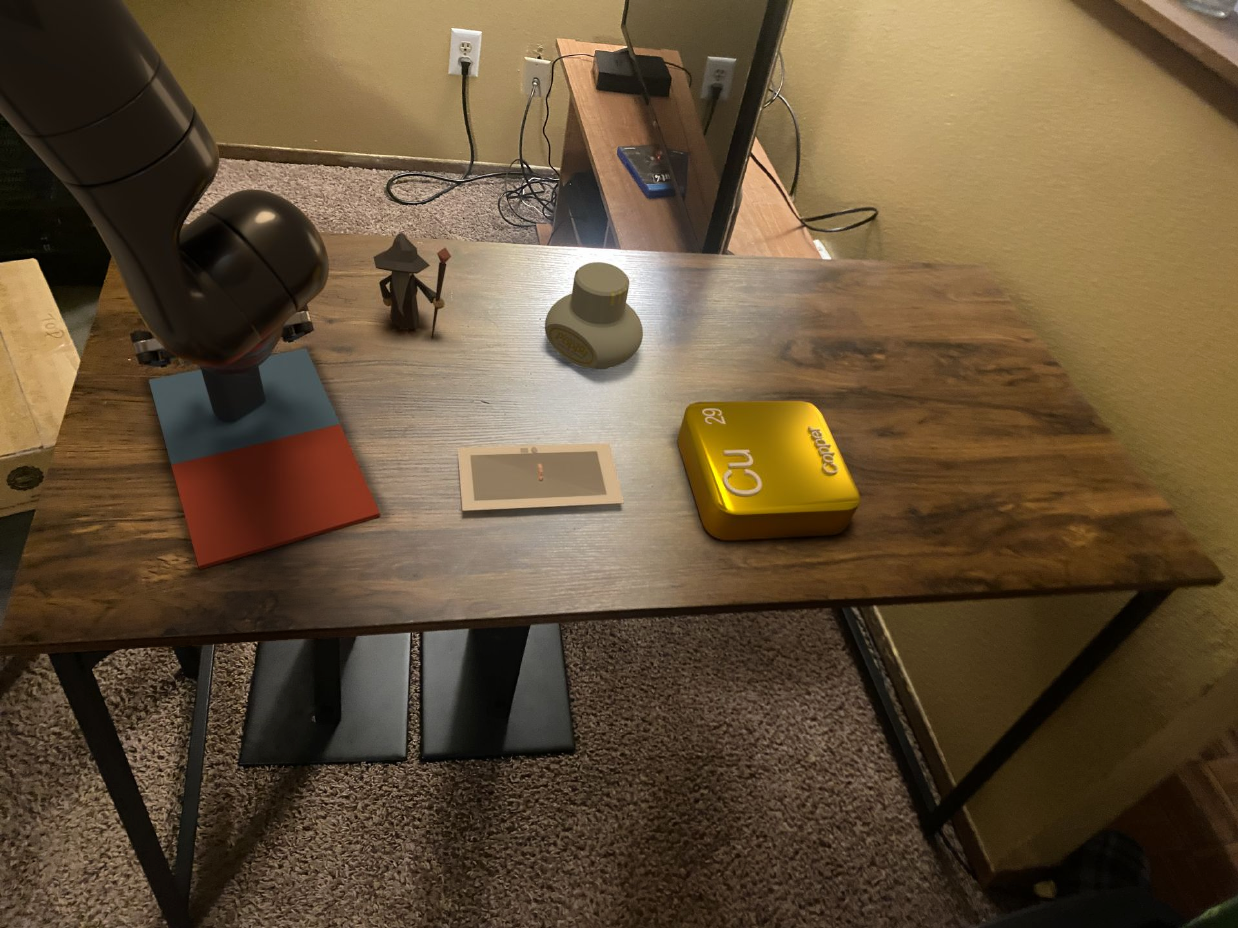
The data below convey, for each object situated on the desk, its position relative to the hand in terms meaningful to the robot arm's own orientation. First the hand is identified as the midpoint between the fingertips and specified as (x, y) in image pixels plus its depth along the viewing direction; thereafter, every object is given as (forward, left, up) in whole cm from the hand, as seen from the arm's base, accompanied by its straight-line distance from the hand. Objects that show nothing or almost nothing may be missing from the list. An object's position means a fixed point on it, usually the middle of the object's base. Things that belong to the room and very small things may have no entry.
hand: (223, 345), depth 77 cm
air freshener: (+37, -5, -7) cm, 38 cm away
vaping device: (0, -2, -6) cm, 7 cm away
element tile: (+44, -29, -7) cm, 53 cm away
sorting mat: (0, -7, -7) cm, 10 cm away
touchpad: (+23, -21, -7) cm, 32 cm away
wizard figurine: (+20, +5, -7) cm, 22 cm away
